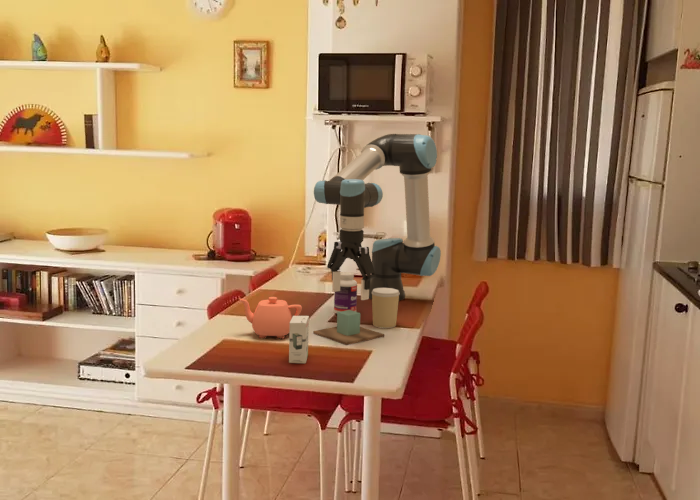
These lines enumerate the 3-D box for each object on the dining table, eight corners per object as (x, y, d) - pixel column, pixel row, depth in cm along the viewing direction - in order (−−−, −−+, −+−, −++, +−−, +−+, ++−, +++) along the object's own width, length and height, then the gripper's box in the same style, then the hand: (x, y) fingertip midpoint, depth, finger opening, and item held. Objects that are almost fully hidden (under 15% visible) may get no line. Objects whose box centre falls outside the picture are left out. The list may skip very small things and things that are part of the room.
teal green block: (348, 329, 245) (349, 309, 244) (359, 333, 241) (360, 313, 240) (336, 332, 241) (337, 312, 240) (347, 335, 238) (348, 315, 237)
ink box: (291, 353, 220) (292, 314, 218) (308, 354, 220) (309, 315, 218) (288, 363, 211) (288, 322, 210) (305, 363, 211) (306, 322, 209)
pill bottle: (353, 316, 265) (355, 276, 262) (331, 315, 266) (332, 275, 264) (358, 311, 273) (359, 272, 270) (336, 309, 274) (337, 270, 272)
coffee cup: (401, 323, 258) (402, 289, 256) (393, 330, 249) (395, 294, 247) (375, 320, 261) (376, 286, 259) (366, 326, 252) (368, 291, 250)
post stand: (350, 325, 253) (350, 309, 252) (383, 336, 241) (384, 318, 240) (313, 333, 242) (313, 315, 241) (346, 345, 230) (346, 326, 229)
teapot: (240, 328, 246) (241, 292, 244) (302, 329, 246) (303, 293, 244) (235, 340, 232) (235, 301, 230) (300, 341, 233) (301, 303, 231)
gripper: (317, 225, 243) (316, 289, 246) (370, 235, 224) (368, 304, 228) (334, 223, 247) (333, 286, 251) (388, 233, 229) (386, 301, 233)
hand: (350, 295), depth 240 cm, fingers open, 13 cm apart
